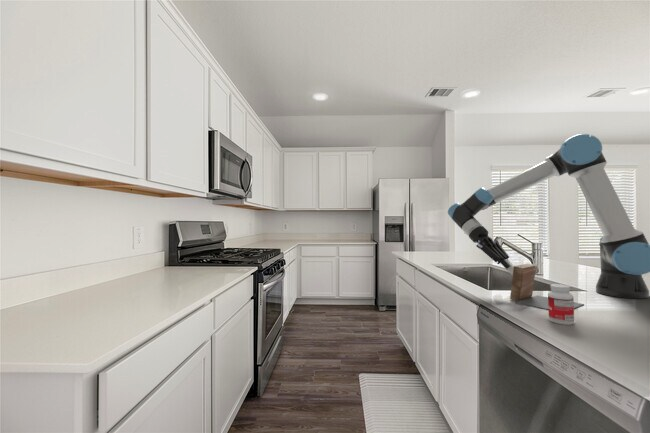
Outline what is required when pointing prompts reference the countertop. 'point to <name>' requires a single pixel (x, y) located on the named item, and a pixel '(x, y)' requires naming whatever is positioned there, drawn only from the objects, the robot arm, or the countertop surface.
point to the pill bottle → (561, 304)
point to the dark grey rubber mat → (540, 302)
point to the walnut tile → (522, 282)
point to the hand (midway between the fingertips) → (516, 273)
